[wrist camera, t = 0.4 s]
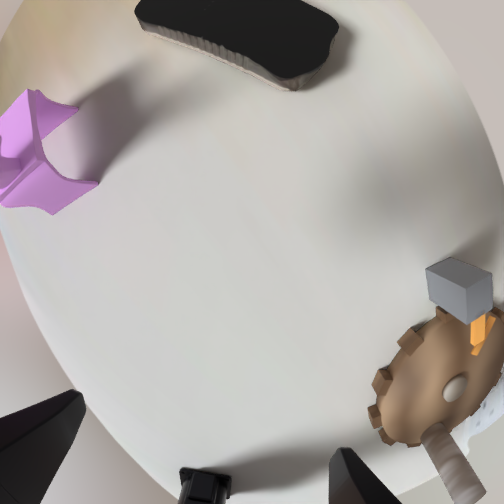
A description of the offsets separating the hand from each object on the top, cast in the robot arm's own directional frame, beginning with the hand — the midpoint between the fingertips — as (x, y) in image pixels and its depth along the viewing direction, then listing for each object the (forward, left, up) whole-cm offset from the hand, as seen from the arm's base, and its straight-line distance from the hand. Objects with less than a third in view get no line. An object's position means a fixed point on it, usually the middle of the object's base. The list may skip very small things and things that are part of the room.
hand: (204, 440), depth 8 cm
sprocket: (-8, -23, -15) cm, 28 cm away
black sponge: (+22, +3, -15) cm, 27 cm away
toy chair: (+10, +18, -15) cm, 25 cm away
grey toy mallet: (+2, -18, -15) cm, 23 cm away
